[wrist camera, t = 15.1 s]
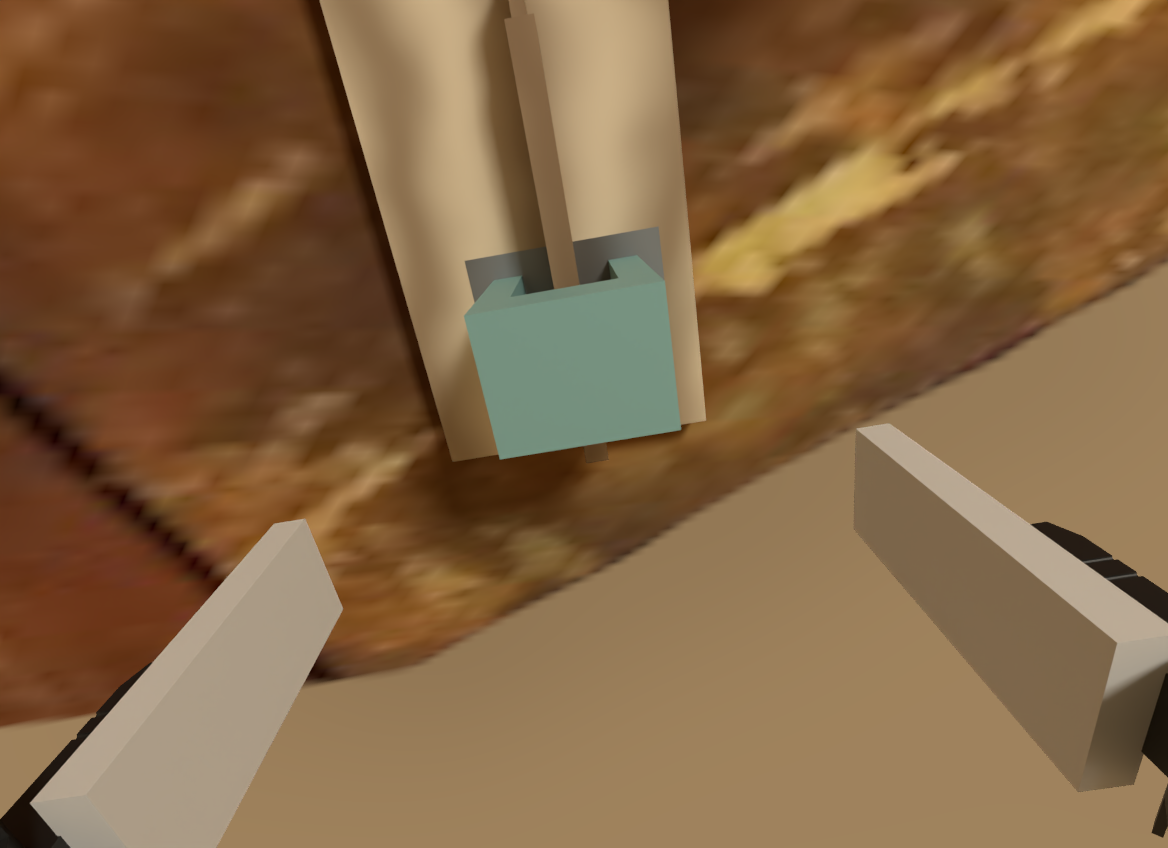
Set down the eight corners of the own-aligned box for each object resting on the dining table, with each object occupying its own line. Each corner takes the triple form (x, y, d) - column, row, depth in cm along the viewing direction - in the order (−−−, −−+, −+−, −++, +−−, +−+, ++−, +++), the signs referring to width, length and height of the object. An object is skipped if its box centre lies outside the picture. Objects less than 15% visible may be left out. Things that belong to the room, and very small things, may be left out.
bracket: (517, 388, 31) (499, 459, 23) (493, 280, 29) (463, 315, 21) (651, 366, 31) (681, 430, 23) (636, 255, 29) (664, 280, 20)
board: (458, 447, 35) (441, 486, 30) (260, -261, 23) (181, -377, 18) (698, 408, 34) (718, 441, 30) (627, -341, 22) (643, -483, 17)
